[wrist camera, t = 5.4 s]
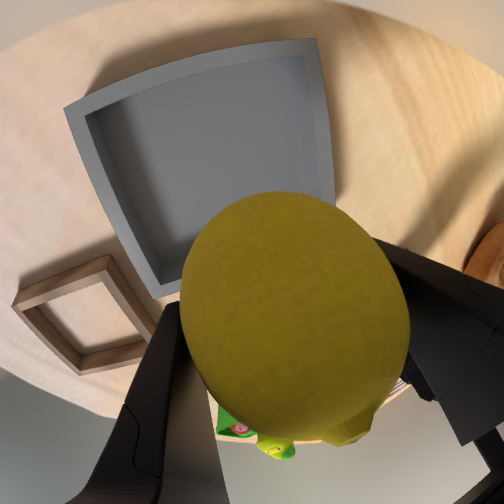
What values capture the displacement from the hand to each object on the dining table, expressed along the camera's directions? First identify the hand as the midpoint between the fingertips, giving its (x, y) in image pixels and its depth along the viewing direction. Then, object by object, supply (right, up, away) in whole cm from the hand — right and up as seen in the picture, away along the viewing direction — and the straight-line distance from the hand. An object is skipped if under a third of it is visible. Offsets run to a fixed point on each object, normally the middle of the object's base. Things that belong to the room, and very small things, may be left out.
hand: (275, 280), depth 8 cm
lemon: (-1, +2, +2) cm, 3 cm away
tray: (-3, +7, +9) cm, 12 cm away
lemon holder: (-15, -5, +14) cm, 21 cm away
